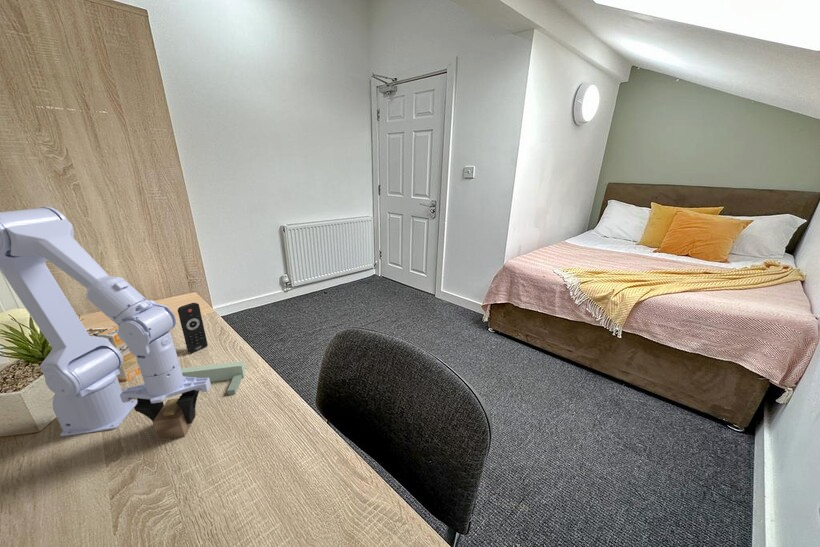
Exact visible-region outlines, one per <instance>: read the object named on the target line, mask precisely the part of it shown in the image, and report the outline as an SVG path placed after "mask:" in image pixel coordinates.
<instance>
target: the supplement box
mask: <svg viewBox="0 0 820 547" xmlns="http://www.w3.org/2000/svg"><path fill="white" fill-rule="evenodd" d="M118 328H119V326H118V325H116V326H114V327H112V328H109V329H108V330H105V331H102V332H100V333H97V334H96V337H103V338H107V339H108V340H109V341H110V343H111V344H112V345H113V346H114V347H115V348H117V349H118V350H119V351H120V352H121V354H122V356H123V365H122V367H120V368H119V371H120V374H118V375H117V378H118V381H123V382H129V381H131V379H134V378H135V377H136V376H138V375H140V374H141V371H140V368H139V365H138V362H137V359H136V356H135V355H133V354H132V353H131V352H130V351H129V348H128V346H127V345H126V344H125V343H124V342H123V341H122V340H121V339H120V337H119V336H118V334H117V331H118V332H119V330H118Z"/></svg>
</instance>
